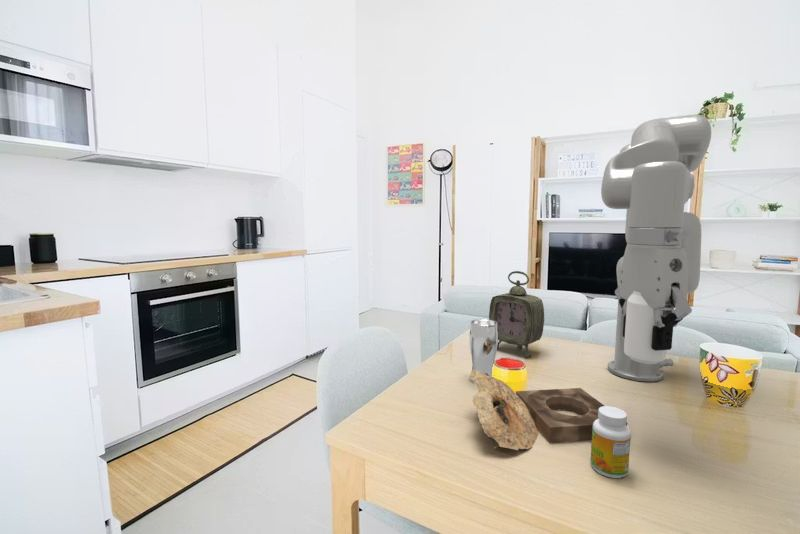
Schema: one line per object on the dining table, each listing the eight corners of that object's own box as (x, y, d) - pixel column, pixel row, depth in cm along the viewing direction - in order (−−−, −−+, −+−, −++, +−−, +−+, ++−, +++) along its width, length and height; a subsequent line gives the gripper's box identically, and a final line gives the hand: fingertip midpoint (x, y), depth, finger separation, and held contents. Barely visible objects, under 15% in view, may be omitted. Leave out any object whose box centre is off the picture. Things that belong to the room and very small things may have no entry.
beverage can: (640, 351, 71) (645, 287, 69) (674, 363, 65) (680, 293, 63) (615, 355, 69) (619, 289, 67) (647, 368, 63) (653, 296, 61)
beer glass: (494, 375, 100) (496, 319, 99) (498, 386, 93) (500, 326, 92) (467, 374, 101) (468, 318, 99) (469, 385, 94) (471, 325, 92)
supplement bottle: (583, 459, 65) (586, 404, 64) (613, 457, 65) (617, 403, 64) (602, 480, 59) (606, 421, 58) (635, 478, 60) (640, 419, 59)
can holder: (579, 400, 86) (580, 387, 86) (626, 437, 71) (627, 422, 71) (515, 404, 84) (516, 391, 84) (549, 443, 69) (550, 427, 69)
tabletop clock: (488, 348, 121) (490, 270, 118) (503, 342, 127) (506, 267, 124) (530, 360, 111) (534, 274, 108) (545, 353, 117) (549, 272, 114)
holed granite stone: (541, 478, 70) (561, 451, 66) (467, 467, 67) (484, 439, 64) (511, 401, 86) (525, 376, 82) (450, 390, 83) (463, 364, 80)
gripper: (723, 241, 56) (711, 359, 58) (635, 235, 73) (629, 328, 75) (677, 242, 55) (667, 362, 57) (599, 236, 72) (593, 329, 74)
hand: (645, 342), depth 66 cm, fingers closed on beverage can, 5 cm apart
